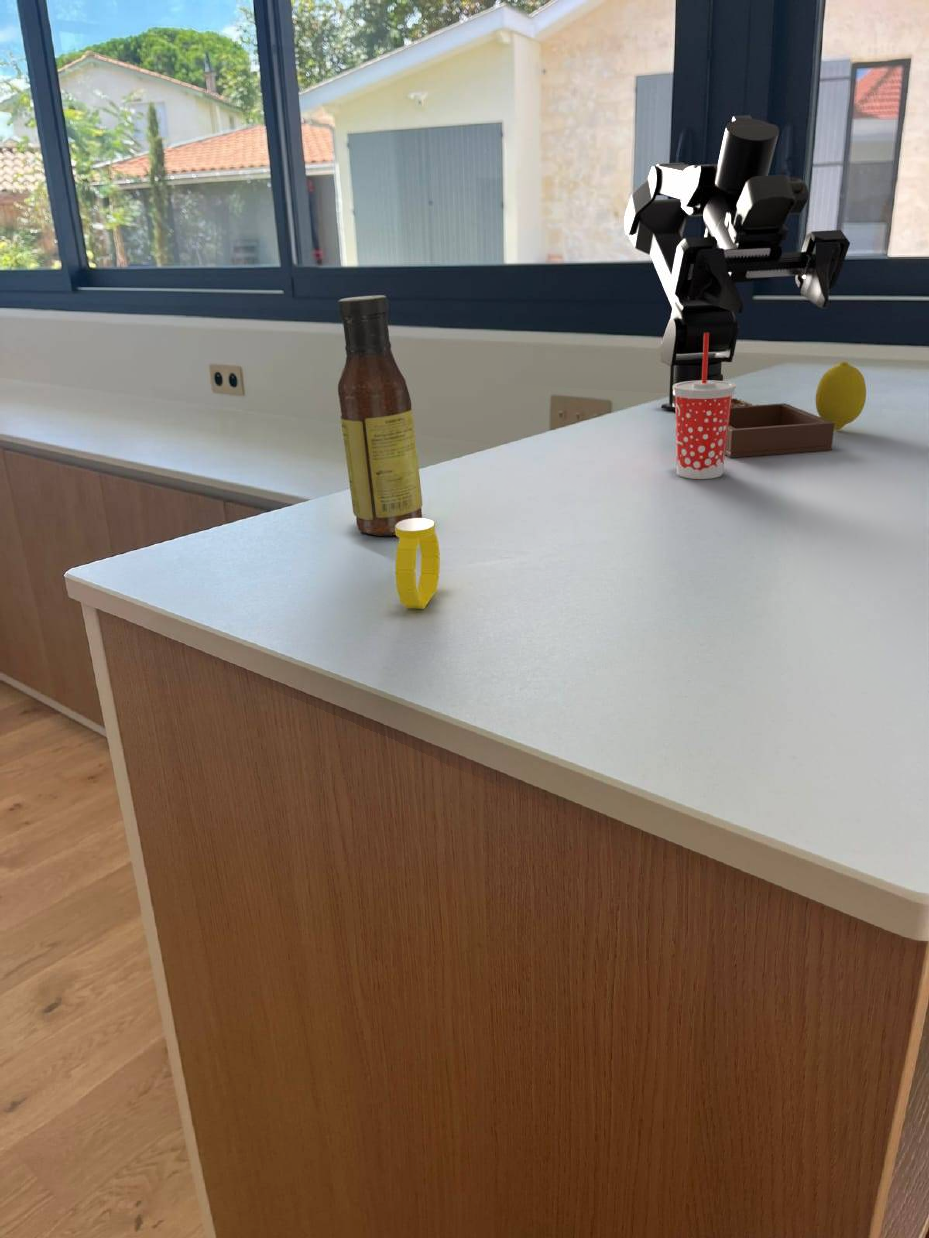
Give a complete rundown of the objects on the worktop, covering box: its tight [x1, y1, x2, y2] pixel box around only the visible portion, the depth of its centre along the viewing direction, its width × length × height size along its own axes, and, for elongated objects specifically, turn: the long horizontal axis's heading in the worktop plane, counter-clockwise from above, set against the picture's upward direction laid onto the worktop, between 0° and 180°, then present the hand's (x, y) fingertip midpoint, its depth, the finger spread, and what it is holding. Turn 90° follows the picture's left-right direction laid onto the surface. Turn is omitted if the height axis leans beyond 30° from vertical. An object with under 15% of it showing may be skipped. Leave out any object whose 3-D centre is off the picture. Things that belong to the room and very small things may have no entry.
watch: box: [394, 517, 441, 610], centre depth 67 cm, size 6×3×6 cm, turn 165°
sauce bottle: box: [337, 295, 423, 537], centre depth 82 cm, size 6×6×20 cm
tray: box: [725, 402, 835, 459], centre depth 109 cm, size 13×12×3 cm
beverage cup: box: [673, 333, 737, 480], centre depth 95 cm, size 6×6×14 cm
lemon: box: [815, 361, 867, 431], centre depth 112 cm, size 6×6×8 cm
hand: (783, 306), depth 99 cm, fingers open, 9 cm apart
